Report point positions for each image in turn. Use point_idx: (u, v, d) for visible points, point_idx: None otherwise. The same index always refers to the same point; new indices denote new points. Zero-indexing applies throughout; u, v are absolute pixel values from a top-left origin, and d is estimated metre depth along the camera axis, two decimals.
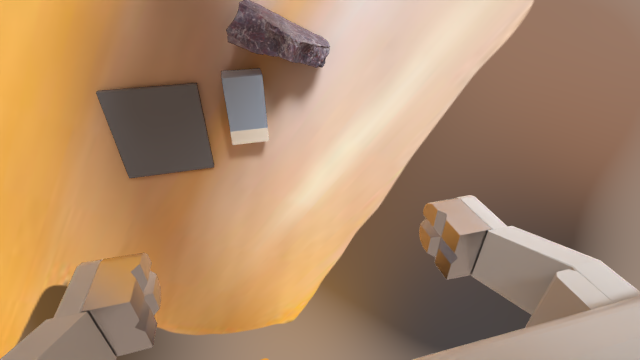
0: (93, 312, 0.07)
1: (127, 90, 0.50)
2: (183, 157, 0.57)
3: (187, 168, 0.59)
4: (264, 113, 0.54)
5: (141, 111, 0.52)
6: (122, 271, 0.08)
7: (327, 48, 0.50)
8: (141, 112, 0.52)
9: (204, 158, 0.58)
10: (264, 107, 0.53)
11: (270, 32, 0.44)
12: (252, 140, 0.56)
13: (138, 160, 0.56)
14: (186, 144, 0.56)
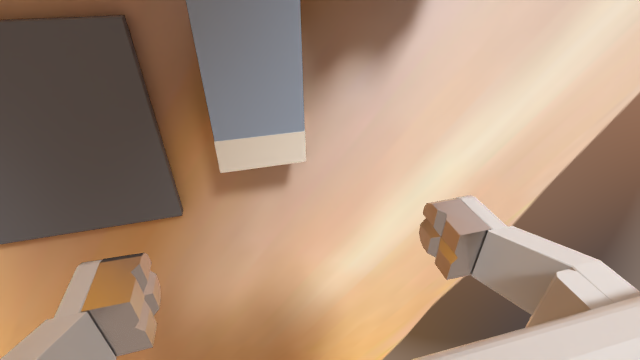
0: (93, 312, 0.07)
1: None
2: (110, 198, 0.25)
3: (122, 220, 0.27)
4: (299, 96, 0.21)
5: None
6: (122, 271, 0.08)
7: None
8: None
9: (159, 198, 0.26)
10: (300, 80, 0.21)
11: None
12: (267, 161, 0.23)
13: None
14: (113, 169, 0.24)
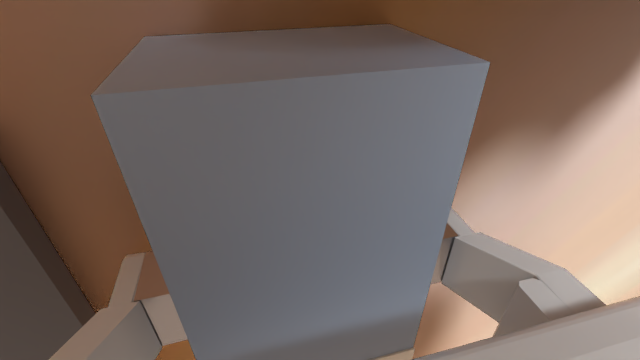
0: (145, 302, 0.07)
1: None
2: None
3: None
4: (417, 298, 0.09)
5: None
6: None
7: None
8: None
9: None
10: (428, 272, 0.08)
11: None
12: None
13: None
14: None
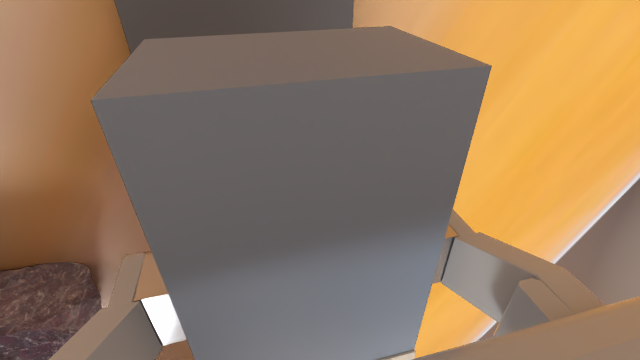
0: (145, 301, 0.07)
1: None
2: (201, 2, 0.20)
3: None
4: (418, 301, 0.09)
5: None
6: None
7: None
8: None
9: None
10: (429, 275, 0.08)
11: None
12: None
13: (318, 6, 0.21)
14: None
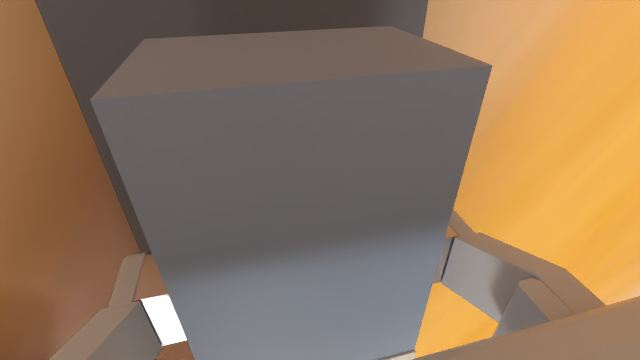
0: (145, 302, 0.07)
1: None
2: (194, 35, 0.12)
3: None
4: (418, 301, 0.09)
5: None
6: None
7: None
8: None
9: (86, 18, 0.11)
10: (429, 275, 0.08)
11: None
12: None
13: None
14: None
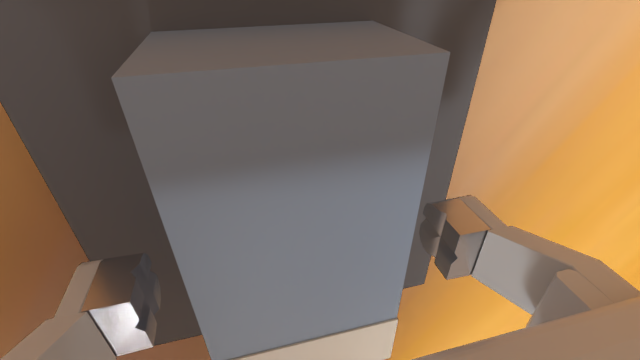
0: (93, 312, 0.07)
1: None
2: None
3: None
4: (398, 269, 0.10)
5: None
6: (122, 271, 0.08)
7: None
8: None
9: (27, 33, 0.08)
10: (406, 244, 0.09)
11: None
12: None
13: None
14: None
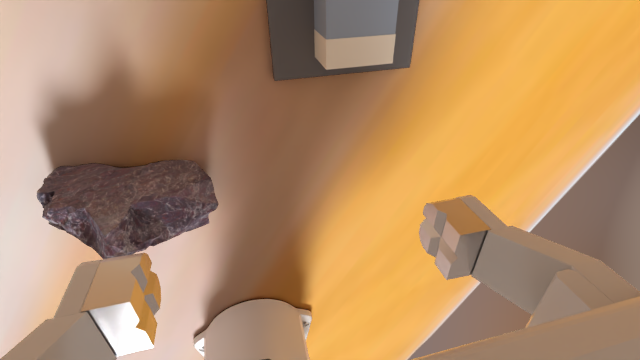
0: (93, 312, 0.07)
1: (371, 70, 0.34)
2: None
3: None
4: (395, 0, 0.26)
5: None
6: (122, 271, 0.08)
7: (50, 221, 0.30)
8: None
9: None
10: None
11: (157, 233, 0.31)
12: (363, 61, 0.29)
13: None
14: None
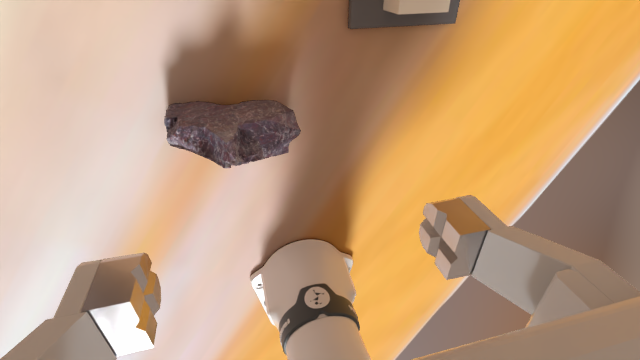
0: (93, 312, 0.07)
1: (425, 24, 0.41)
2: None
3: None
4: None
5: None
6: (122, 271, 0.08)
7: (171, 143, 0.38)
8: None
9: None
10: None
11: (255, 151, 0.38)
12: (426, 8, 0.36)
13: None
14: None
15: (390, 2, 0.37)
